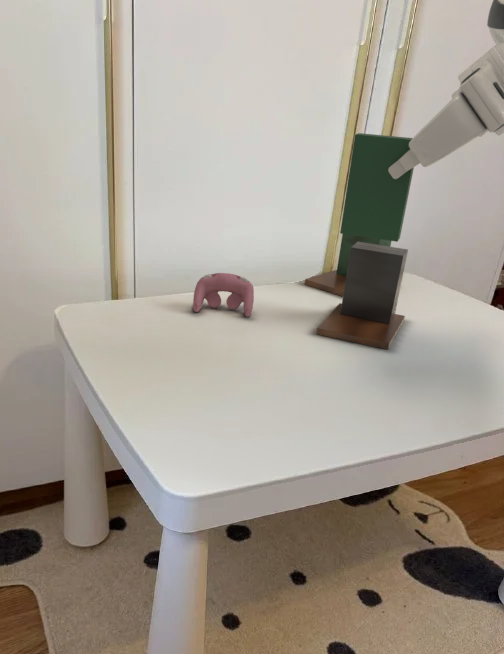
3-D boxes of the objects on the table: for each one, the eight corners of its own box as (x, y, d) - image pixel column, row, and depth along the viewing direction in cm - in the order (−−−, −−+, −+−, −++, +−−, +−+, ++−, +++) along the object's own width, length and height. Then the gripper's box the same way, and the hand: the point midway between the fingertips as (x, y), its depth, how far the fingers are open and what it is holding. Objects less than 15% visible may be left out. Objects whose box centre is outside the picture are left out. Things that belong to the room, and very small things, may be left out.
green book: (399, 238, 88) (419, 138, 82) (397, 241, 87) (417, 140, 80) (343, 230, 91) (358, 133, 85) (340, 233, 89) (354, 134, 83)
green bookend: (393, 286, 121) (407, 211, 115) (353, 300, 113) (367, 220, 106) (345, 271, 128) (356, 200, 121) (304, 284, 119) (314, 208, 113)
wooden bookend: (403, 321, 104) (419, 249, 99) (387, 349, 94) (404, 270, 88) (338, 308, 108) (349, 238, 103) (316, 334, 97) (327, 257, 92)
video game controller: (252, 319, 106) (256, 277, 106) (251, 316, 101) (256, 272, 101) (193, 314, 107) (197, 272, 106) (190, 310, 102) (195, 267, 102)
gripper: (479, 74, 84) (391, 145, 92) (472, 75, 68) (365, 162, 76) (506, 113, 85) (416, 180, 93) (505, 123, 68) (396, 204, 76)
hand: (393, 172), depth 84 cm, fingers closed on green book, 2 cm apart
